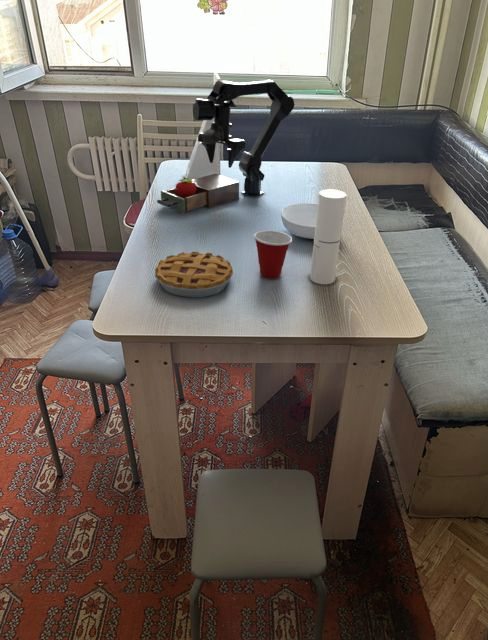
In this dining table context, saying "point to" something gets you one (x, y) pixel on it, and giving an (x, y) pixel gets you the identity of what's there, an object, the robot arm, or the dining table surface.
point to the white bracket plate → (203, 154)
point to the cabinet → (218, 189)
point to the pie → (194, 274)
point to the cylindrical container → (327, 235)
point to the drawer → (183, 200)
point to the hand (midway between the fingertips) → (220, 165)
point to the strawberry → (186, 188)
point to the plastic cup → (271, 252)
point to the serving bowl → (300, 219)
